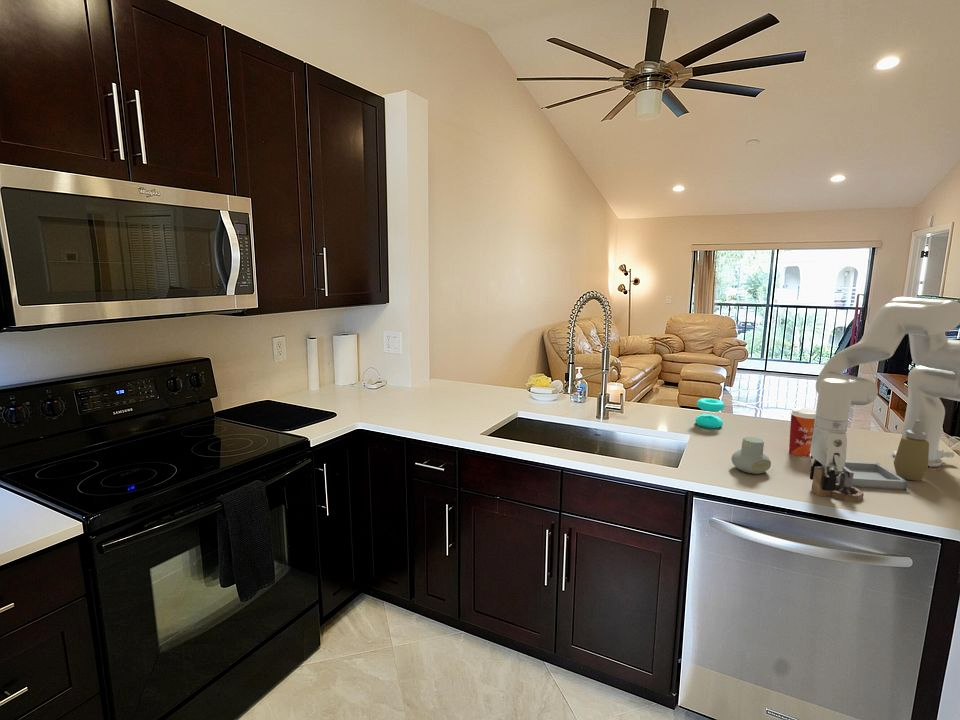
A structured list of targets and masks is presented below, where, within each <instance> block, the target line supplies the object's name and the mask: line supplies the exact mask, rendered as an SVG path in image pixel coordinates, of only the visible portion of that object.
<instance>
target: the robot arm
mask: <svg viewBox="0 0 960 720" xmlns="http://www.w3.org/2000/svg"><path fill="white" fill-rule="evenodd" d="M959 325H960V302H959V301H956V300H952V299H951V300H950V299H939V298H937V299H936V298H923V297H909V296H898V297H894V298H892V299H890V300H889V302H888V303H886V304H884V305H882V306H881V307H880V308H879V309H878V310H877V312H876V314H875V315H874V317H873V319H872V320H871V322H870V323H869V325H868V327H867V329H866V330H865V332H864V333H863V335H862V337H861V339H860V340H859V341H858V342H857V343H854V344H853V345H850V346H848V347H846V348H844V349H843V350H841V351H838V352H837V353H836V354H834V355H833V356H831V357H830V358H829V359H828V360H827V361H826V362H825V365H824V366H823V368H822V369H821V371H820V373H819V375H818V377H817V380H815V381H816V382H815V391H816V392H817V402H816V408H815V411H816V414H815V421H814V427H815V428H814V432H813V436H812V441H811V448H810V460H811V461H810V473H809V479H810V481H813V475H814V468H815V467H821V466H823V465H824V467H825V476H823V481H822V488H821V489H822V490H826V491H836V490H835V486H836V483H837V482H836V480H837V478H838V475H839V474H840V473H841V472H842V471H843V469H842V468H843V467H844V466H845V461H847V460H846V459H847V449H848V448H847V447H848V446H847V443H848V441H847V439H848V438H847V433H846V432H847V431H848V430H847V429H848V423H849V417H850V412H851V411H850V410H851V406H866V405H869V404H871V403H873V402H874V401H875V400H876V398H877V396H878V394H879V389H878V386H877V384H876V383H875V382H874V381H873V380H871V379H868V378H865V377H861V376H854V375H849V374H844V373H843V372H845V371H846V370H848V369H850V368H852V367H855V366H859V365H863V364H869V363H874V362H880V361H884V360H888V359H890V358H891V357H893V355H894V354H895V352H896V350H897V349H898V347H899V346H900V344H901V342H902V340H903V339H904V338H905V336H906V335H908V340H909V349H910V355H911V360H912V362H913V364H915V365H916V366H915V367H914V366H913V368H911V369H910V371H909V373H908V377H907V390H908V391H907V392H908V393H907V396H908V397H907V403H906V410H905V415H904V421H903V422H904V423H903V428H902V432H901V433H902V434H901V438H902V437H904V436H906V431H907V430H911V429H912V427H913V425H914V423H915V421H916V420H921V425H922V432H924V433H926V434H927V435H926V439H925V440H927V441H928V442H929V457H928V466H929V467H930V468H932V467H937V468H938V467H941V466H942V465H943V460H942V458H950V459H951V458H954V457H955V453H954V452H953V451H945V450H944V449H940V448H939V447H940V442H941V437H942V431H943V426H944V425H943V424H944V421H945V416H946V408H945V406H944V404H943V402H942V399H947V400H952V401H955V402H957V401H958V402H960V340H959V339H951V338H948V337H947V336H946V333H947V332H951V331H953V329H955V328H957V327H958V326H959ZM941 398H942V399H941ZM897 450H898V449H895V450H893V451H892V456H893V457H894V458H895V456H896V453H897ZM829 464H834V466H829ZM929 467H928V468H929ZM829 468H833V470H831V471H830V472H829Z"/></svg>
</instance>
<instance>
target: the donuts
mask: <svg viewBox="0 0 960 720" xmlns="http://www.w3.org/2000/svg"><path fill="white" fill-rule="evenodd" d="M696 405H697V408H699V409H700V410H702V411H706V412H712V413H713V412H714V413H715V412H716V413H717V412H721V411H723V410H724V408H725V407H726V406H725V403H724V401H722V400H719V399H716V398H706V397H704V398H699V399H698V400H697V402H696ZM695 423H696V424H697V425H698V426H700V427H703V428H707V429H718V428H721V427H722V426H723V425H724V421H723V420H722V418H720V417H719V416H717V415H713V414H700V415H697V417H696V418H695Z"/></svg>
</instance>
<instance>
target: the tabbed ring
mask: <svg viewBox="0 0 960 720" xmlns="http://www.w3.org/2000/svg"><path fill="white" fill-rule="evenodd" d="M830 471H831V470H829V472H830ZM823 476H825V467H815V468H814V475H813V480H812V483H811V491H812V492H813V493H814V494H816V495H817V496H818V497H833V498H836V499H838V500H839V499H840V500H843V501H847V502H860V501H861V500H862V499H863V498H864V492H863V491H861V490H860V489H859V487H852V488H851V494H844V493H841V492H838V485H839V483H838V482H836V486H835V491H826V490H822V489H821V488H822V481H823Z"/></svg>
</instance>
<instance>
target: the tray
mask: <svg viewBox="0 0 960 720" xmlns="http://www.w3.org/2000/svg"><path fill="white" fill-rule="evenodd" d="M829 466H834V464H829ZM821 467H824V465H823V466H821ZM844 467H846V468H848V469H849V470H851V471H852V472H853V473H854V476H853V481H852V487H855V488H870V489H881V490H882V489H883V490H900V491H901V490H902V491H903V490H904V491H907V489H908V484H909V482H908V481H907V479H904V478H901V477H899V476H898V475H896V472H895V473H894V472H893V471H892V470H890V469H889V468H887V467H885V466H883V465H882V464H880V463H879V462H864V461H848V460H845V466H844ZM829 470H833V468H829ZM839 478H840V474H839V475H838V478H837V480H836V483H838V484H839Z"/></svg>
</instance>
